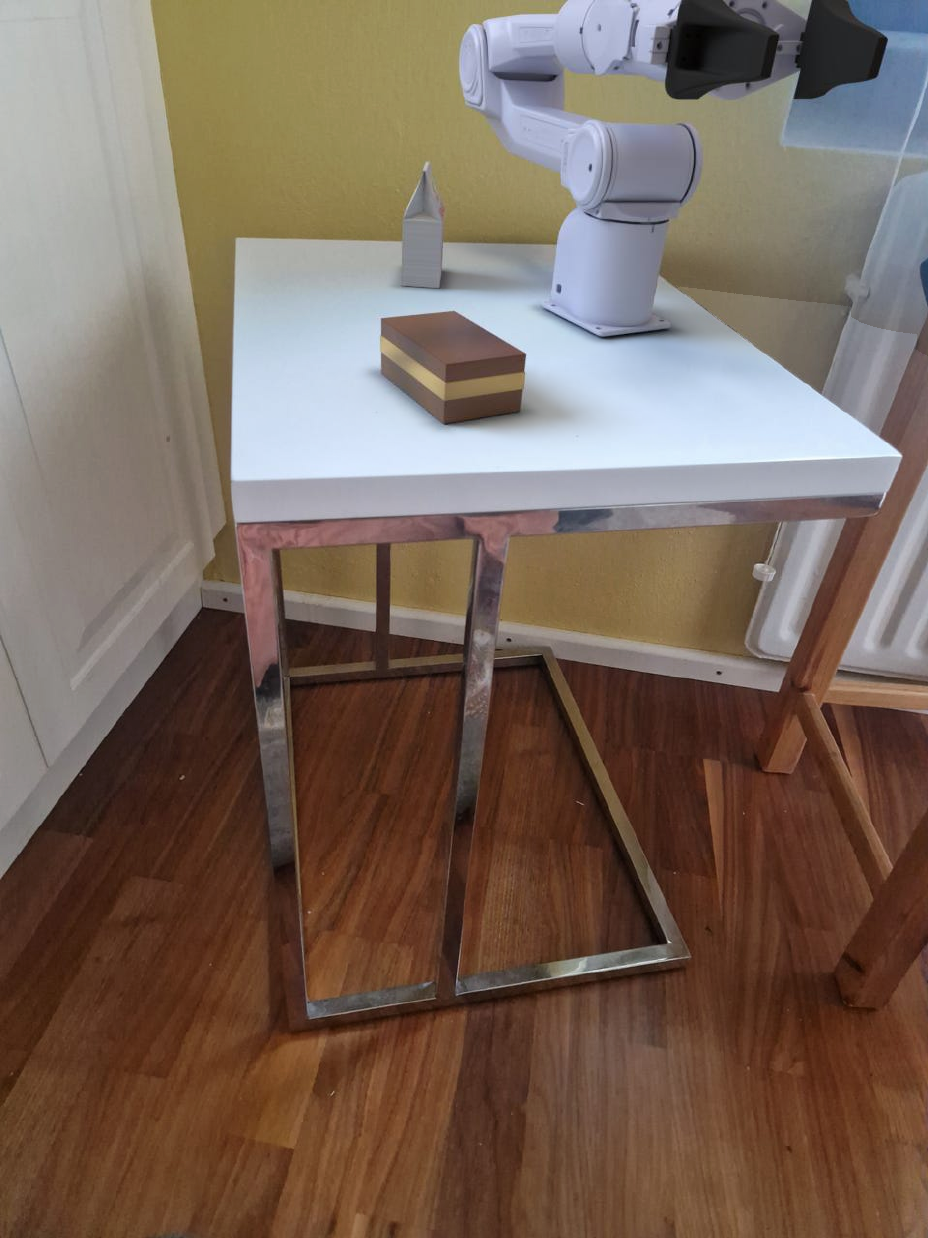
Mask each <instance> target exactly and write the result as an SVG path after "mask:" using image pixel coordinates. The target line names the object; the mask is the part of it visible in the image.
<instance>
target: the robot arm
mask: <svg viewBox="0 0 928 1238" xmlns="http://www.w3.org/2000/svg"><path fill="white" fill-rule="evenodd" d="M888 42H889V39H888V36H886V35H885V34H884V33H883V32H881V31H879V30H877V29H875V28H874V27H871V26H869V25H867V24H865V23H864V22H862V21H861V20H860V19H858V18H857V17H856V15H854V13H853V11H852V9H851V5H850V3H849V1H848V0H811V2H810V6H809V11H808V15H807V18H805V17H804V16H802V15H801V14H799V12H796V10H794V9H792V8H790V7H789V6H787V5H786V4H785V3H783V2H781V1H780V0H567V1H566V2H565V3H564V4H563V5H562V6H561V8H560V9H559V10H558V13H526V14H525V13H523V14H522V13H521V14H515V15H513V14H512V15H508V16H500V17H494V18H488V19H486V20H484V21H482V25H481V24H479V23H473V24H471V25H470V26H469V27H468V29H467V30H466V32H465V33H464V34H463V37H462V40H461V43H460V48H459V56H458V57H459V58H458V71H459V80H460V84H461V88H462V89H461V90H462V96H463V98H464V102H465V106H467V107H469V108H470V109H472V110H473V111H475V112H477V113H478V114H479V115H482V116H483V117H484V118H485V119H486V121H487V122H488V124H489V126H490V127H491V129H492V130H493V132H494V133H495V135H496V137H497V138H498V140H499V142H500V143H501V145H502V146H503V147H504V150H505V151H506V152H507V153H509V155H510V154H511V155H513V156H515V157H517V158H519V159H520V158H521V159H523V160H525V161H528V162H530V163H533V164H534V165H538V166H541V167H542V168H545V169H548V170H550V171H552V172H554V173H557V174H559V175H560V186H561V187H563V188H565V189H566V190H568V191H569V192H570V194H571V196H572V198H573V201H574V203H575V204H576V207H575V208H574V209H573V210H572V211H570V212H569V213H568V215H567V216H566V217H565V218H564V221H562V224H561V226H560V228H559V230H558V231H559V232H558V235H557V241H556V250H555V258H554V264H553V266H554V267H553V275H552V282H551V283H552V285H551V292H550V300H544V301H542V303H541V306H542V308H544V309H546V310H547V311H550V312H552V313H553V314H555V315H558V316H559V317H561V318H563V319H565V320H567V321H569V322H571V323H573V324H575V325H577V326H579V327H580V328H583V329H584V330H586V331H588V332H591V333H592V334H593V335H594V334H595V335H597V336H598V337H610V336H617V335H625V334H635V333H643V332H649V331H658V330H665V329H670V328H671V326H672V323H671V322H670V321H668V320H666V319H664V318H662V317H660V316H658V315H655V314H653V307H654V302H655V297H656V291H657V287H658V282H659V275H660V271H661V266H662V261H663V255H664V251H665V246H666V245H665V244H666V239H667V234H668V229H669V225H670V219H671V220H672V219H678V218H679V213H680V208H683V206H685V205H686V204H687V203H688V202H689V201H690V200H691V198H692V197H693V195H694V194H695V192H696V190H697V188H698V185H699V183H700V180H701V177H702V173H703V169H704V168H703V167H704V149H703V145H702V139H701V137H700V133H699V132H698V130H697V128H696V127H695V126H694V125H693V124H692V123H689V122H677V123H676V124H661V123H660V124H658V123H630V122H629V123H625V122H607V121H603V120H600V119H596V118H593V117H588V116H585V115H582V114H578V113H573V112H570V111H565V100H566V87H565V85H566V84H565V81H566V80H565V69H566V70H567V71H569V72H571V73H574V74H577V75H578V74H579V75H595V76H596V77H597V76H598V77H600V76H607V75H610V76H611V75H612V76H613V75H623V76H640V77H641V76H642V77H645V78H647V79H648V80H650V81H653V82H658V83H663V84H664V88H665V92H666V94H667V95H668V97H669V98H670V99H671V98H672V99H674V100H678V101H685V100H688V101H693V100H695V101H696V100H699V99H701V98H702V97H703V96H705V95H706V94H708V96H711V97H713V98H716V99H719V100H723V101H735V100H740V99H743V98H745V97H747V96H749V95H751V94H753V93H756V92H757V91H760V90H762V89H764V88H766V87H769V86H771V85H773V84H775V83H777V82H779V81H781V80H783V79H786V78H788V77H790V76H792V75H794V74H797V73H798V72H799V75H798V78H797V82H796V86H795V89H794V90H795V92H794V95H793V100H814V99H818V98H822V97H824V96H825V95H827V93H829V92H830V91H831V90H833V89H835V88H837V87H840V86H842V85H849V84H858V83H863V82H869V81H872V80H875V79H877V77H878V76H879V73H880V70H881V66H882V64H883V60H884V56H885V53H886V49H887V44H888Z"/></svg>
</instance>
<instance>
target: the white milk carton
mask: <svg viewBox="0 0 928 1238" xmlns="http://www.w3.org/2000/svg"><path fill="white" fill-rule="evenodd" d="M440 195H441V194H440V193H439V190H438V188H437V185H436V182H435V179H434V175H433V171H432V167H431V161H430V160H429V161H427V160H426V161H425V163H424V166H423V169H422V171H421V176H420V179H419V181H418V184H417V185H416V188H415V190H414V191H413V194H412V196H411V198H410V200H409V202H408V204H407V206H406V208H405V212H404V214H403V217H402V229H401V231H402V232H401V287H414V288H428V289H440V286H441V279H442V274H443V273H442V272H443V251H444V228H445V206H444V204H443V201H442V198H441V196H440Z"/></svg>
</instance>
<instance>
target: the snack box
mask: <svg viewBox="0 0 928 1238" xmlns="http://www.w3.org/2000/svg"><path fill="white" fill-rule="evenodd" d="M379 351H380V373H381V375H383V376H384V377H385V378H386V379H388V380H389V381H390V382H391V383H392V384H394V385H395V386H396V387H398V388H399V389H400V390H401V391H402V392H404V393H405V394H406V395H408V397H410V398H411V399H412V400H413V401H415V402H416V403H417V404H418V405H420V406H421V407H422V408H423V409H425V410H426V411H427V412H428V413H429V414H431V415H432V416H433V417H434V418H435V419H436V420H438V421H439V422H441V423H442V424H443V425H446V424H451V423H458V422H465V421H469V420H477V419H481V418H483V419H484V418H489V417H494V416H500V415H505V414H506V415H507V414H512V413H519V412H521V410H522V409H521V407H522V397H523V390H524V389H525V388H524V387H525V380H526V371H525V368H526V358H527V353H525V352H524V351H522V350H520V349H519V348H517V347H515V346H514V345H512V344H510V343H509V342H507V341H505V340H504V339H502V338H500V337H499V336H497V335H496V334H494V333H492V332H490V331H489V330H487V329H485V328H484V327H482V326H481V325H479V324H478V323H475V322H474V321H473V320H471V319H469V318H468V317H465V316H464V315H462V314H461V313H459V312H457V311H456V310H449V311H448V310H447V311H440V312H439V311H438V312H428V313H420V314H408V315H399V316H398V315H397V316H388V317H381V318H380V334H379Z"/></svg>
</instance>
